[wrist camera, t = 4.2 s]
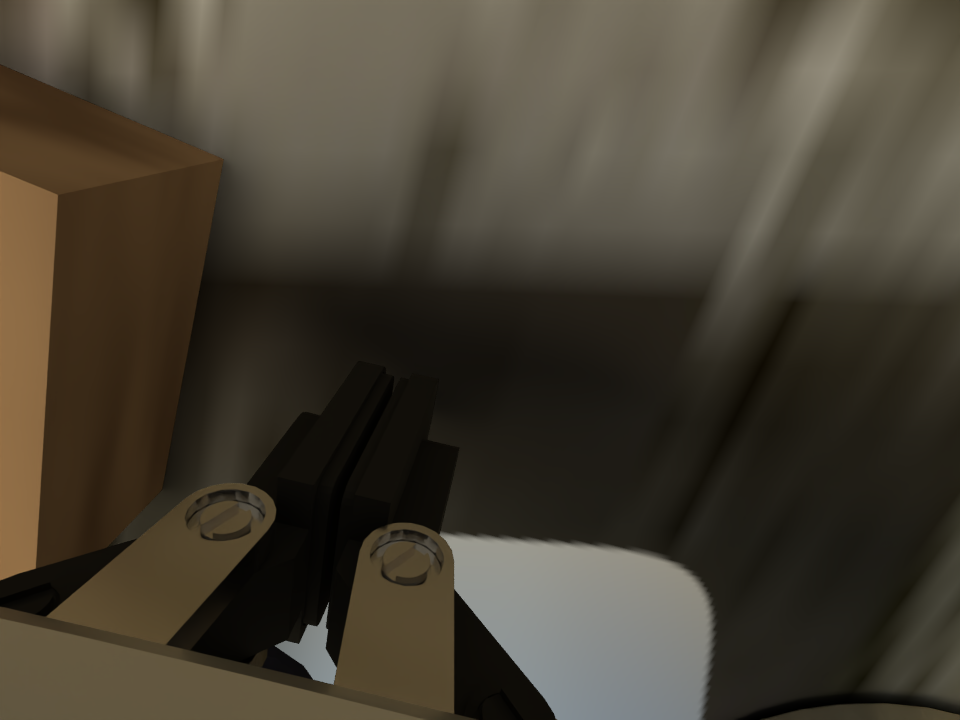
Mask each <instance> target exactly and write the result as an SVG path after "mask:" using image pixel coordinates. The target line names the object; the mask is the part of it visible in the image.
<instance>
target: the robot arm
mask: <svg viewBox="0 0 960 720" xmlns="http://www.w3.org/2000/svg"><path fill="white" fill-rule="evenodd" d="M438 382H439V379H435V378H431V377H427V376H422V375H418V374H414V373H413V374H412V376H411V378H410V380H409V379H405V378H401V379H400V381H399V383H398V384H397V386H396V388H395V390H394V392H393V394H392V390H393V383H394V376H392V375H388V374H386V367H383V366H379V365H375V364H370V363H366V362H362V361H359V362H358V363H357V364H356V365H355V367H354V368H353V370H352V371H351V373H350V374H349V375H348V377H347V378H346V380H345V381H344V383H343V384H342V385H341V387H340V388H339V390H338V391H337V393H336V394H335V395H334V397H333V398H332V400H331V401H330V403H329V404H328V405H327V407H326V408H325V410H324V411H323V413H322V414H321V415H316V414H312V413H308V412H303V413H301V414H300V415H299V417H298V418H297V419H296V420H295V422H294V423H293V424H292V426H291V427H290V428H289V430H288V431H287V432H286V434H285V435H284V436H283V437H282V439H281V440H280V441H279V443H278V444H277V445H276V447H275V448H274V449H273V451H272V452H271V453H270V455H269V456H268V457H267V458H266V460H265V461H264V462H263V464H262V465H261V466H260V468H259V469H258V470H257V472H256V473H255V474H254V476H253V477H252V478H251V479H250V481H249V482H248V483H247V485H246V484H241V483H224V484H218V485H212V486H209V487H206V488H204V489H201V490H198V491H196V492H195V493H193V494H192V495H190V496H188V497H187V498H185V499H184V500H183V501H182V502H181V503H179V504H178V505H177V506H176V507H175V508H174V509H172V510H171V511H170V512H169V513H168V514H166V515H165V516H164V517H163V518H162V519H161V520H159V521H158V522H157V523H156V524H155V525H154V526H152V527H151V528H150V529H149V530H148V531H146V532H145V533H144V534H143V535H142V536H141V537H139V538H138V539H135V540H131V541H128V542H124V543H121V544H118V545H114V546H111V547H107V548H104V549H101V550H97V551H94V552H90V553H87V554H84V555H80V556H77V557H73V558H70V559H67V560H63V561H60V562H56V563H53V564H49V565H46V566H43V567H39V568H36V569H32V570H29V571H26V572H22V573H19V574H16V575H13V576H10V577H8V578H5V579H3V580H0V720H557V719H555V716H554V713H553V712H552V710H551V708H550V707H549V705H548V704H547V702H546V701H545V699H544V698H543V696H542V695H541V694H540V693H539V692H538V690H537V689H536V688H535V687H534V686H533V684H532V683H531V682H530V681H529V679H528V678H527V677H526V676H525V675H524V673H523V672H522V671H521V670H520V668H519V667H518V666H517V665H516V664H515V663H514V661H513V660H512V659H511V658H510V656H509V655H508V654H507V653H506V651H505V650H504V649H503V648H502V647H501V645H500V644H499V643H498V642H497V640H496V639H495V638H494V637H493V636H492V634H491V633H490V632H489V631H488V630H487V629H486V627H485V626H484V625H483V624H482V622H481V621H480V620H479V619H478V617H477V616H476V615H475V614H474V613H473V611H472V610H471V609H470V608H469V607H468V605H467V604H466V603H465V602H464V600H463V599H462V598H461V597H460V596H459V594H458V593H457V592H456V591H455V589H454V559H453V554H452V550H451V549H450V547H449V545H448V544H447V542H446V540H444V539H443V538H442V537H441V536H440V535H439V534H440V530H441V526H442V522H443V518H444V514H445V510H446V505H447V501H448V497H449V492H450V488H451V484H452V479H453V475H454V471H455V466H456V462H457V457H458V453H459V447H454V446H450V445H446V444H441V443H437V442H433V441H429V440H428V435H429V430H430V424H431V419H432V414H433V409H434V404H435V399H436V393H437V388H438ZM328 602H329V607H328V615H327V622H326V628H327V629H328V635H327V643H326V650H327V651H328V653H329V655H330V657H331V658H332V660H333V662H334V664H335V666H336V667H337V670H336V675H335V681H334V685H332V684H328V683H324V682H320V681H316V680H312V679H308V678H303V677H299V676H295V675H291V674H287V673H282V672H278V671H274V670H270V669H265V668H262V666H263V664H264V662H265V660H266V658H267V652H268V648H270V647H273V646H275V645H276V644H279V643H281V642H284V641H290V642H294V643H298V644H299V643H300V640H301V638H302V636H303V634H304V632H305V629H306V627H307V625H308V624H309V625H313V626H318V625H319V623H320V621H321V619H322V616H323V614H324V612H325V609H326V607H327V605H328ZM761 720H960V715H958V714H954V713H949V712H945V711H941V710H937V709H932V708H928V707H919V706H909V705H899V704H890V703H855V704H836V705H828V706H821V707H813V708H806V709H799V710H795V711H791V712H787V713H784V714H780V715H776V716H772V717H768V718H764V719H761Z"/></svg>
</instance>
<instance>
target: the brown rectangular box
mask: <svg viewBox="0 0 960 720" xmlns="http://www.w3.org/2000/svg"><path fill="white" fill-rule="evenodd" d="M223 160H224V159H222V158H220V157H217V156H215V155H212V154H210V153H208V152H205V151H203V150H201V149H198V148H196V147H194V146H191V145H189V144H186V143H184V142H182V141H179V140H177V139H175V138H172V137H170V136H168V135H165V134H163V133H161V132H158V131H156V130H153V129H151V128H149V127H146V126H144V125H142V124H139V123H137V122H135V121H132V120H130V119H127V118H125V117H123V116H120V115H118V114H116V113H113V112H111V111H109V110H106V109H104V108H102V107H99V106H97V105H94V104H92V103H90V102H87V101H85V100H83V99H80V98H78V97H76V96H73V95H71V94H68V93H66V92H64V91H61V90H59V89H57V88H54V87H52V86H50V85H47V84H45V83H42V82H40V81H38V80H35V79H33V78H31V77H28V76H26V75H24V74H21V73H19V72H17V71H14V70H12V69H9V68H7V67H5V66H2V65H0V580H3V579H5V578H8V577H10V576H13V575H16V574H19V573H22V572H26V571H29V570H32V569H36V568H39V567H43V566H46V565H49V564H53V563H56V562H60V561H63V560H67V559H70V558H73V557H77V556H80V555H84V554H87V553H90V552H94V551H97V550H101V549H104V548H106V547H107V546H108V545H109V544H110V543H111V542H112V541H113V540H114V539H115V538H116V537H117V536H118V535H119V534H120V533H121V532H122V531H123V530H124V529H125V528H126V527H127V526H128V525H129V524H130V523H131V522H132V521H133V520H134V519H135V517H136V516H137V515H138V514H139V513H140V512H141V511H142V510H143V509H144V508H145V507H146V506H147V505H148V504H149V503H150V502H151V501H152V500H153V499H154V498H155V497H156V496H157V495H158V494H159V493H160V492H161V491H162V488H163V482H164V477H165V471H166V466H167V461H168V455H169V450H170V445H171V439H172V434H173V428H174V423H175V418H176V412H177V407H178V402H179V396H180V391H181V385H182V380H183V375H184V369H185V364H186V359H187V353H188V348H189V342H190V337H191V332H192V326H193V321H194V316H195V310H196V305H197V299H198V294H199V289H200V283H201V278H202V273H203V267H204V262H205V256H206V251H207V246H208V240H209V235H210V230H211V224H212V219H213V213H214V208H215V203H216V197H217V192H218V187H219V181H220V176H221V171H222V165H223Z"/></svg>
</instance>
